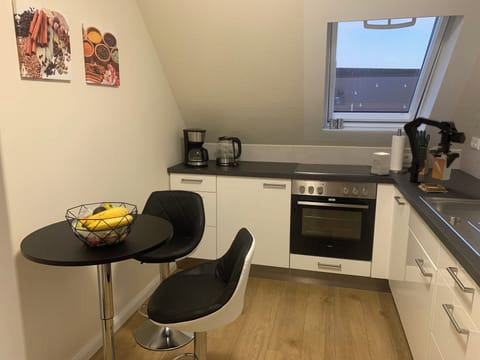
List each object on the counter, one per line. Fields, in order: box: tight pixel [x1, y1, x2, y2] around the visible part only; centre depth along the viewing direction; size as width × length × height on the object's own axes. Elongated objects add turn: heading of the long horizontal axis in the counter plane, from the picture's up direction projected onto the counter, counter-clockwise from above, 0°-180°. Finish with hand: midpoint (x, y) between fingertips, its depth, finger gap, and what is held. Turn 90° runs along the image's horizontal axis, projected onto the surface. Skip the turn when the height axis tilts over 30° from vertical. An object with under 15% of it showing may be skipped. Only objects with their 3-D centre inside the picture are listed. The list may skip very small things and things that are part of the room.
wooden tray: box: [418, 182, 448, 193], centre depth 227 cm, size 14×12×2 cm
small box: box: [431, 156, 453, 181], centre depth 232 cm, size 8×6×13 cm
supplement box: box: [370, 151, 392, 176], centre depth 272 cm, size 9×9×15 cm
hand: (442, 166), depth 232 cm, fingers closed on small box, 8 cm apart
